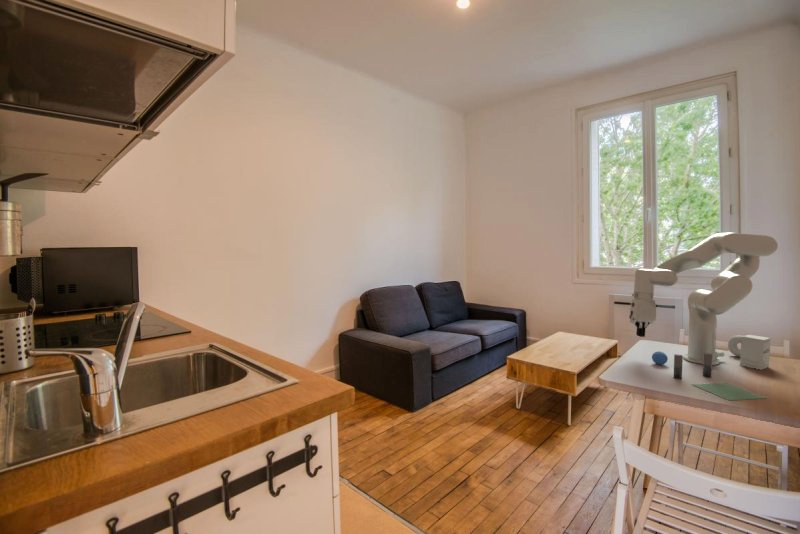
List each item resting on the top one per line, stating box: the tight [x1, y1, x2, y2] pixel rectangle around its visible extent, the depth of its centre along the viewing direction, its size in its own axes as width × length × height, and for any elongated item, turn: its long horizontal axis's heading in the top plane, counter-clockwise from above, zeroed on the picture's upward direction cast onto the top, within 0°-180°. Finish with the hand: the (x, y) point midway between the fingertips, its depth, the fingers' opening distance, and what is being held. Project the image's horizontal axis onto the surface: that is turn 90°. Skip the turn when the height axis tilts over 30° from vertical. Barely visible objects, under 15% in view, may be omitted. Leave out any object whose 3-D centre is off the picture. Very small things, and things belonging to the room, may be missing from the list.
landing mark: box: [692, 382, 767, 402], centre depth 134 cm, size 14×14×1 cm
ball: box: [651, 350, 669, 366], centre depth 163 cm, size 6×6×6 cm
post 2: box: [702, 353, 713, 379], centre depth 148 cm, size 3×3×9 cm
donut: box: [727, 335, 743, 358], centre depth 173 cm, size 10×4×10 cm, turn 18°
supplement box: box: [739, 334, 772, 371], centre depth 160 cm, size 7×7×13 cm
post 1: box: [673, 354, 684, 381], centre depth 147 cm, size 3×3×9 cm
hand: (640, 336), depth 173 cm, fingers closed
